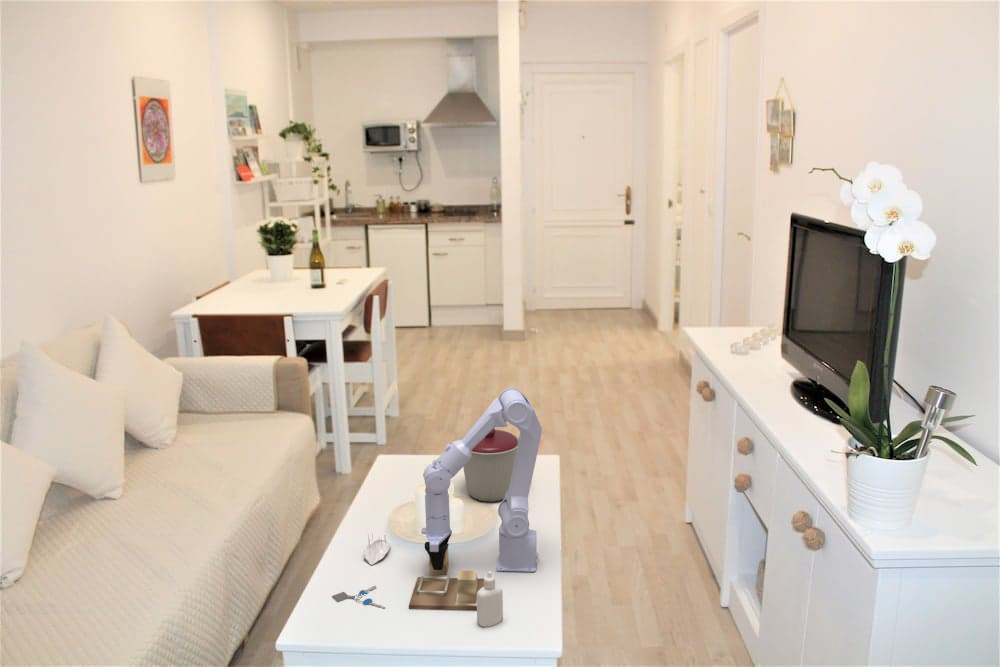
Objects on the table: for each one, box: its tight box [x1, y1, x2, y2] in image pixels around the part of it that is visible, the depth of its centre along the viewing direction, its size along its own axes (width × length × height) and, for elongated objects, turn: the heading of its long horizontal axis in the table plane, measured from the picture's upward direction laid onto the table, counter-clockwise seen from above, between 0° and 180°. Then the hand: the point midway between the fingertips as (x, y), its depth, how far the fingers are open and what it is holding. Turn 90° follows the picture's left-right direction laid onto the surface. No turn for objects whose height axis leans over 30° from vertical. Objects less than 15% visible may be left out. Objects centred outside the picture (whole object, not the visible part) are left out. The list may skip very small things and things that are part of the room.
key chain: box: [331, 585, 386, 610], centre depth 193 cm, size 14×8×1 cm, turn 75°
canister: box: [459, 427, 519, 503], centre depth 243 cm, size 18×18×21 cm
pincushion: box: [363, 533, 391, 565], centre depth 211 cm, size 12×6×6 cm, turn 175°
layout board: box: [408, 569, 484, 612], centre depth 191 cm, size 16×12×7 cm
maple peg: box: [429, 547, 449, 576], centre depth 202 cm, size 4×4×6 cm
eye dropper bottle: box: [476, 570, 504, 628], centre depth 180 cm, size 4×6×12 cm
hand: (439, 564), depth 203 cm, fingers closed on maple peg, 4 cm apart
